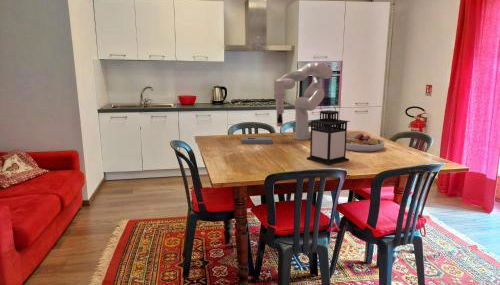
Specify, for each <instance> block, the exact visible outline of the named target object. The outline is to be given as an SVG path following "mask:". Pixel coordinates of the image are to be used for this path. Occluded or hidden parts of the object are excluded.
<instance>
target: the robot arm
mask: <svg viewBox="0 0 500 285" xmlns="http://www.w3.org/2000/svg"><path fill="white" fill-rule="evenodd" d="M333 73H334V72H333V69H332V68H331V67H330V66H328V65H326V64H324V63H321V62H317V61H316V62H315V61H314V62H313V61H312V62H307V63H306V64H305V65H303V66H301V67H300V68H298V69H296V70H293V71H292V72H288V73H286V74H284V75H283V76H282V75H281V77H280V78H277V79H274V81H273V95H274V97H273V99H274V100H275V110H276V114H277V113H278V112H279V113H278V123H282V112H283V114H284V113H285V111H284V110H285V107H284V106H285V103H284V100H285V99H286V98H285V97H286V94H285V93H286V90H292V89H294V88H295V86H296V82H301V81H304V80H306V79H307V78H308V77H310V76H311V75H312V81H311V83H310V84H309V86H308V87H307V88H306V89H305V91H304V92H303V96H299V97H297V98H296V99H295V100H294V110H295V130H294V132H295V134H294V136H293V137H292V138H293V139H294V140H299V141H308V140H311V133H309V113H308V111H311V112H312V111H315V110H316V108H317V107H318V106H319V105H320V104H321V102H322V101H324V97H325V91H324V89H323V88H322V87H323V82H322V79H325V80H326V79H327V80H328V79H330V78H332V77H333Z"/></svg>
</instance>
